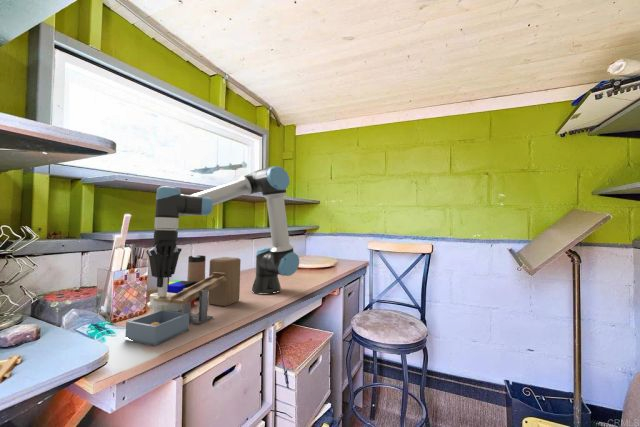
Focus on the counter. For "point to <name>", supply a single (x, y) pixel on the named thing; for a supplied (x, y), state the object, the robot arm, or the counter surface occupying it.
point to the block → (229, 288)
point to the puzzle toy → (176, 288)
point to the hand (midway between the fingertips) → (162, 295)
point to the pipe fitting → (155, 303)
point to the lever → (193, 290)
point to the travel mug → (196, 269)
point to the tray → (157, 327)
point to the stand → (203, 309)
